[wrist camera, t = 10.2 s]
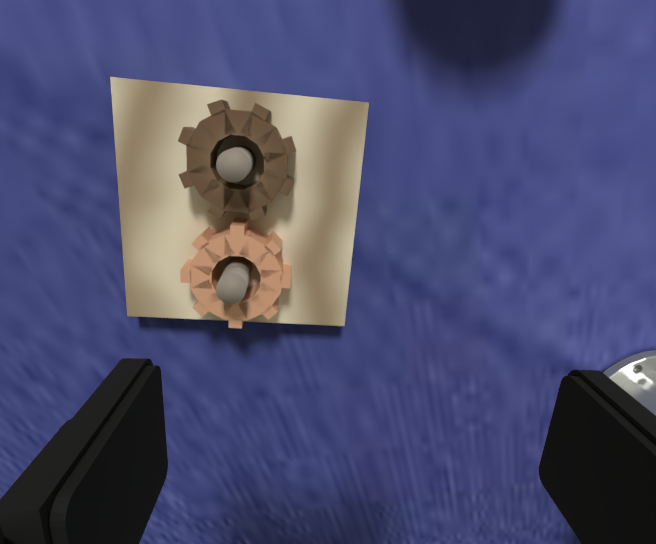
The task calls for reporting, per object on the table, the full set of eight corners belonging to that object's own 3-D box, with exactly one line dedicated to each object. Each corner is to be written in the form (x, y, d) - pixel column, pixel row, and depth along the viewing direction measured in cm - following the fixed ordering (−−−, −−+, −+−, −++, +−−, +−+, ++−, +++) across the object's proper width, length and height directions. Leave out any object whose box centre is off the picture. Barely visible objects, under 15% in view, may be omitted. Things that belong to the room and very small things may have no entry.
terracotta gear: (293, 221, 30) (293, 230, 27) (288, 315, 32) (287, 330, 30) (188, 214, 29) (178, 222, 27) (189, 311, 31) (181, 325, 29)
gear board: (364, 104, 29) (382, 98, 23) (341, 314, 34) (351, 356, 28) (122, 80, 28) (73, 67, 21) (136, 305, 33) (100, 346, 27)
